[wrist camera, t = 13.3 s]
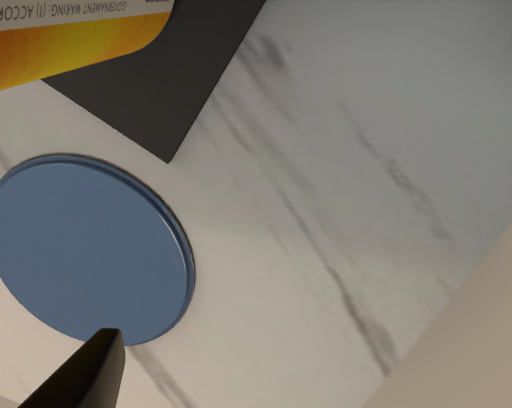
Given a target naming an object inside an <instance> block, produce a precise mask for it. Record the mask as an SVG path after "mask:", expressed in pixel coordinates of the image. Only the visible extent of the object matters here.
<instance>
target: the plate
mask: <svg viewBox="0 0 512 408" xmlns="http://www.w3.org/2000/svg"><path fill="white" fill-rule="evenodd" d="M0 278H1V279H2V281H3V283H4V284H5V285H6V287H7V288H8V290H9V291H10V292H11V294H12V295H13V296H14V297H15V298H16V299H17V300H18V302H19V303H20V304H21V305H23V306H24V307H25V308H26V309H27V310H28V311H29V312H30V313H31V314H33V315H34V316H35V317H36V318H38V319H39V320H40V321H42V322H44V323H45V324H47V325H48V326H50V327H51V328H53V329H55V330H57V331H59V332H61V333H63V334H65V335H67V336H70V337H72V338H75V339H78V340H81V341H84V342H86V341H88V340H89V339H90V338H91V337H92V336H93V335H94V334H95V333H96V332H97V331H98V330H99V329H101V328H118V329H120V330H121V331H122V335H123V342H124V346H132V345H138V344H142V343H146V342H149V341H151V340H154V339H156V338H158V337H160V336H162V335H164V334H165V333H167V332H168V331H169V330H170V329H172V328H173V327H174V326H175V325H176V324H177V323H178V322H179V321H180V319H181V318H182V317H183V315H184V313H185V312H186V310H187V308H188V306H189V303H190V301H191V299H192V295H193V290H194V283H195V269H194V261H193V257H192V252H191V249H190V246H189V243H188V241H187V238H186V236H185V234H184V232H183V230H182V228H181V226H180V224H179V223H178V221H177V220H176V218H175V217H174V215H173V214H172V213H171V211H170V210H169V209H168V208H167V206H166V205H165V204H164V203H163V202H162V201H161V200H160V199H159V198H158V197H157V196H156V195H155V194H154V193H153V192H152V191H151V190H150V189H149V188H147V187H146V186H145V185H143V184H142V183H141V182H139V181H138V180H137V179H135V178H134V177H132V176H130V175H129V174H127V173H125V172H123V171H122V170H120V169H118V168H115V167H113V166H111V165H109V164H106V163H104V162H100V161H97V160H94V159H91V158H86V157H80V156H75V155H51V156H44V157H40V158H36V159H32V160H30V161H27V162H25V163H23V164H20V165H19V166H17V167H16V168H14V169H13V170H11V171H9V172H8V173H7V174H6V175H5V176H4V177H3V178H2V179H1V180H0Z"/></svg>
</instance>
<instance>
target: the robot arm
mask: <svg viewBox="0 0 512 408" xmlns="http://www.w3.org/2000/svg"><path fill="white" fill-rule="evenodd" d="M124 366H125V349H124V342H123V335H122V331H121V330H120V329H118V328H101V329H99V330H98V331H97V332H96V333H95V334H94V335H93V336H92V337H91V338H90V339H89V340H88V341H86V342H85V343H84V344H83V345H82V346H81V347H80V348H79V349H78V350H77V351H76V352H75V353H74V354H73V355H72V356H71V357H70V358H69V359H68V360H67V361H66V362H65V363H64V364H62V365H61V366H60V367H59V368H58V369H57V370H56V371H55V372H54V373H53V374H52V375H51V376H50V377H49V378H48V379H47V380H46V381H45V382H44V383H43V384H42V385H41V386H39V387H38V388H37V389H36V390H35V391H34V392H33V393H32V394H31V395H30V396H29V397H28V398H27V399H26V400H25V401H24V402H23V403H22V404H21V405H20V406H19V407H18V408H115V407H116V402H117V398H118V393H119V389H120V384H121V379H122V375H123V370H124Z"/></svg>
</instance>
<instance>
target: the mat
mask: <svg viewBox="0 0 512 408" xmlns="http://www.w3.org/2000/svg"><path fill="white" fill-rule="evenodd" d="M265 2H266V0H174V4H173V7H172V11H171V13H170V16H169V18H168V21H167V22H166V24H165V26H164V28H163V29H162V30H161V32H160V33H159V34H158V36H157V37H156V38H155V39H154V40H153V41H151V42H150V43H149V44H148V45H146V46H145V47H143V48H141V49H140V50H137V51H135V52H133V53H129V54H126V55H122V56H119V57H115V58H112V59H108V60H105V61H101V62H98V63H94V64H91V65H87V66H84V67H80V68H77V69H73V70H70V71H66V72H63V73H59V74H56V75H52V76H49V77H45V78H42V79H41V80H42V81H44V82H45V83H47V84H48V85H50V86H51V87H53V88H54V89H56V90H57V91H59V92H60V93H62V94H63V95H65V96H66V97H68V98H69V99H71V100H72V101H74V102H75V103H77V104H78V105H80V106H81V107H83V108H84V109H86V110H87V111H89V112H90V113H92V114H93V115H95V116H96V117H98V118H99V119H101V120H102V121H104V122H105V123H107V124H108V125H110V126H111V127H113V128H114V129H116V130H117V131H119V132H120V133H122V134H123V135H125V136H126V137H128V138H129V139H131V140H132V141H134V142H135V143H137V144H138V145H140V146H141V147H143V148H145V149H146V150H148V151H149V152H151V153H152V154H154V155H155V156H157V157H158V158H160V159H161V160H163V161H164V162H166V163H167V164H168V163H169V162H170V161H171V160H172V158H173V157H174V155H175V153H176V152H177V150H178V148H179V146H180V145H181V143H182V141H183V140H184V138H185V136H186V135H187V133H188V131H189V130H190V128H191V126H192V125H193V123H194V121H195V119H196V118H197V116H198V114H199V113H200V111H201V109H202V108H203V106H204V104H205V103H206V101H207V99H208V98H209V96H210V94H211V93H212V91H213V89H214V87H215V86H216V84H217V82H218V81H219V79H220V77H221V76H222V74H223V72H224V71H225V69H226V67H227V66H228V64H229V62H230V61H231V59H232V57H233V55H234V54H235V52H236V50H237V49H238V47H239V45H240V44H241V42H242V40H243V39H244V37H245V35H246V34H247V32H248V30H249V28H250V27H251V25H252V23H253V22H254V20H255V18H256V17H257V15H258V13H259V12H260V10H261V8H262V7H263V5H264V3H265Z"/></svg>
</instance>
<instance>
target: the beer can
mask: <svg viewBox="0 0 512 408" xmlns="http://www.w3.org/2000/svg"><path fill="white" fill-rule="evenodd" d="M173 4H174V0H0V90H3V89H7V88H10V87H14V86H17V85H21V84H24V83H28V82H31V81H35V80H38V79H42V78H45V77H49V76H52V75H56V74H59V73H63V72H66V71H70V70H73V69H77V68H80V67H84V66H87V65H91V64H94V63H98V62H101V61H105V60H108V59H112V58H115V57H119V56H122V55H126V54H129V53H133V52H135V51H137V50H140V49H141V48H143V47H145V46H146V45H148V44H149V43H150V42H151V41H153V40H154V39H155V38H156V37H157V36H158V34H159V33H160V32H161V30H162V29H163V28H164V26H165V24H166V22H167V21H168V18H169V16H170V13H171V11H172V7H173Z"/></svg>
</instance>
